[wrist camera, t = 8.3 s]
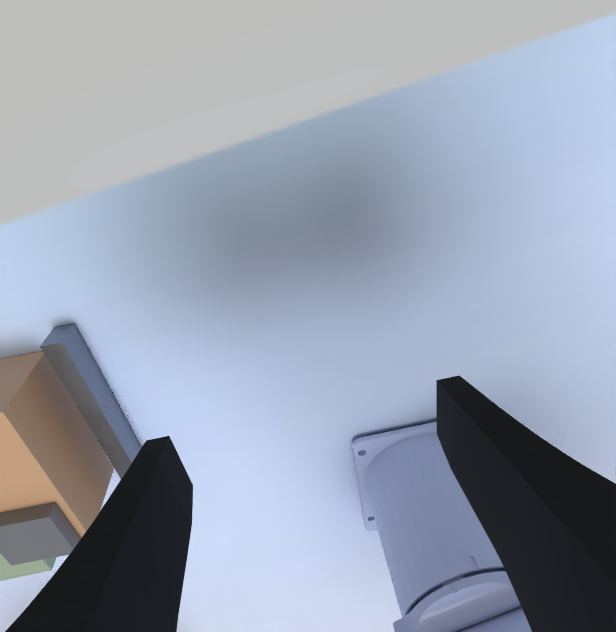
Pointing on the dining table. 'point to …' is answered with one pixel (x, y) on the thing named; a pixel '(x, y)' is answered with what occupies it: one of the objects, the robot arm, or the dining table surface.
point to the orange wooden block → (45, 463)
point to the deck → (24, 568)
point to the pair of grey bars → (91, 395)
